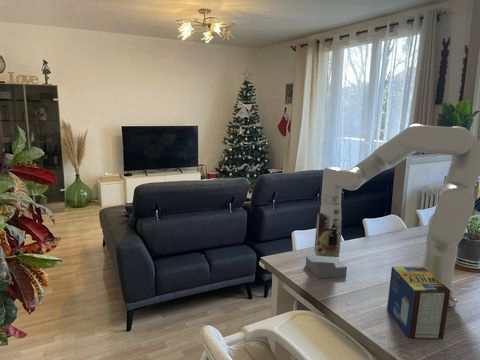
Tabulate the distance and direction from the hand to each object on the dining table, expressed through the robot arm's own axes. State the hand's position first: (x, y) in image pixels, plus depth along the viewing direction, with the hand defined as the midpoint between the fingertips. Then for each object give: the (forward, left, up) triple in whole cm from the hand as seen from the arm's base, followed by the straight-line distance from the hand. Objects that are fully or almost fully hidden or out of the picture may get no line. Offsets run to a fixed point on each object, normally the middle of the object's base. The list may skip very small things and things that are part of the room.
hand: (327, 240), depth 139 cm
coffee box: (0, 0, -6) cm, 6 cm away
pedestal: (0, 0, -13) cm, 13 cm away
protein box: (-38, -11, -13) cm, 42 cm away
